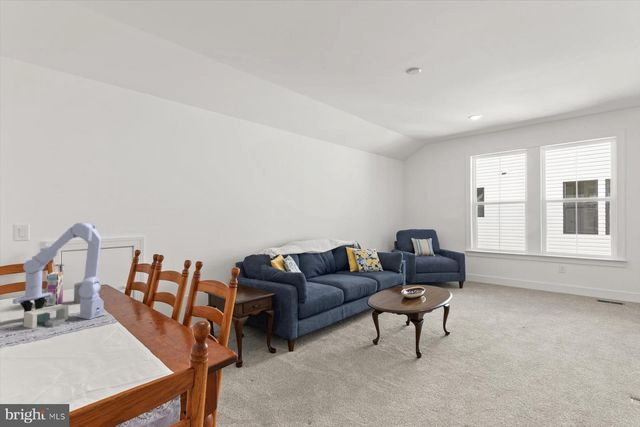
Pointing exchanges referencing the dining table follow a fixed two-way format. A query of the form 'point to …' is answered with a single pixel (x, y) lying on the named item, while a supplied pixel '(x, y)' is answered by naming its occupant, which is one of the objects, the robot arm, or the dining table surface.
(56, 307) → the plinth shelf
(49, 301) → the candy bar box
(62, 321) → the steel token
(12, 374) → the dining table surface
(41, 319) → the slat blade
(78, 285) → the cup
